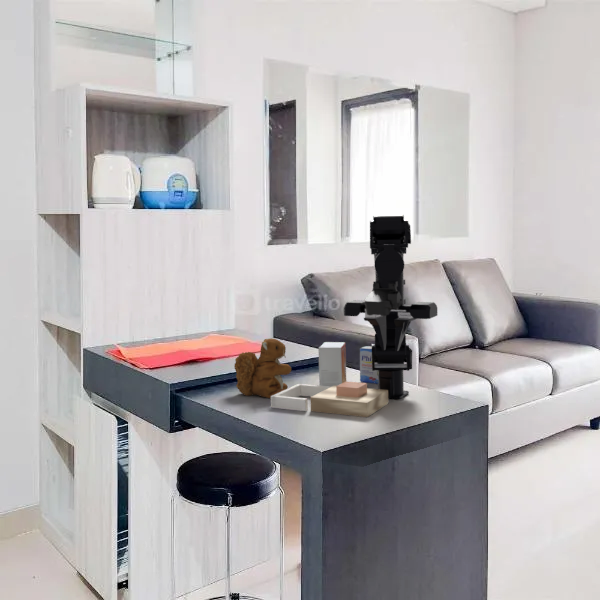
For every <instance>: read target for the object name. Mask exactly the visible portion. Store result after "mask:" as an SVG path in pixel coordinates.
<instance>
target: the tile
mask: <svg viewBox="0 0 600 600" xmlns="http://www.w3.org/2000/svg"><path fill="white" fill-rule="evenodd" d="M367 388H368V383H363V382H360V381H359V382H356V381H347V380H346V382H344V383H342V384H340V385H338V386H336V393H337V396H348V397H360V396H362V395H363V394H365V393H367Z"/></svg>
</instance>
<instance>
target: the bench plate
mask: <svg viewBox="0 0 600 600" xmlns="http://www.w3.org/2000/svg"><path fill="white" fill-rule="evenodd" d="M309 397H310V396H309ZM309 400H310V411H311V412H315V413H316V412H317V413H327V414H334V415H343V416H345V415H346V416H353V417H360V418H361V417H363V418H369V417H370V416H371V415H373V414H375V413H376V412H378V411H379V410H380V409H382V408H384V407H385V406H387V405H388V404H389V398H388V390H382V389H378V388H368V387H367V393H365V394H363V395H362V396H360V397H348V396H337V393H336V385H334V386H332V387H330V388H328V389H326V390H324V391H322V392H320V393H318V394H316V395H314V396H312V397H310V399H309Z"/></svg>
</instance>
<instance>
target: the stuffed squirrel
mask: <svg viewBox="0 0 600 600" xmlns="http://www.w3.org/2000/svg"><path fill="white" fill-rule="evenodd" d="M286 348H287V347H286V345H285V344H284V343H283V342H281V341H280V340H278V339H276V338H272V337H270V338H265V339H264V340H263V341H262V342H261V345H260V350H259V351H260V354H259V357H257V356H256V353H254V352H251V351H248V352H247V351H246V352H241V353H239V354H238V356H237V357H236V358H235V361H234V362H235V363H234V365H233V366H234V370H235V372H236V374H235V377H236V380H237V384H236V385H235V387H236V388H237V389H238V390H239V392H240V393H241V394H242V395H244V396H248V397H250V396H259V397H262V398H266V399H267V398H268V399H271V396H272V395H275V394H277V393H279V392H281V391H283V390H286V389H288V388H289V387H288V384H286V383H285V382H284V381H283V377H282V375H283V376H287V375H289V374H291V372H292V367H291V365H289V364H287V363H281V362H280V359H282V358H283V357H284V358H285V359H286V353H287V352H286Z"/></svg>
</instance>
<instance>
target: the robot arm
mask: <svg viewBox="0 0 600 600" xmlns="http://www.w3.org/2000/svg"><path fill="white" fill-rule="evenodd" d="M372 218H373V219H372V220H369V248H370V252H371V253H370V254H371V255H373V260H374V272H375V281H373V282H372V283H373V284H372V290H371V292H369V293H368V294H367V296H366V297H365V298H364V300H363V299H361V300H360V299H357V300H356V299H355V300H351V301H347V302H346V303H345V304H344V306H343V316H344V317H358V316H359V315H360V314H364V317H363V320H364V321H365V322H368V323H369V324H370V326H372V328H373V331H374V332H375V333H374V343H371V346H372V371H375V370H378V384H377V385H378V388H377V389H382V390H388V399H395V400H401V399H403V397H405V396H406V395H408V394H409V392H410V391H409V390H404V388H405V387H404V385H405V384H404V371H410V370H412V369H413V349H411V347H410V344H409V343H407V342H406V341H407V338H406V337H407V335H406V333H407V330H408V329H409V326H410V324H411V323H412V321H415V320H420V319H422V320H429V319H430V320H431V319H432V318H435V317H438V306H437V303H435V302H434V301H432V302H431V301H430V302H429V301H418V302H415V303H411V305H408V304H406V302H407V301H406V298H404V297H405V295H404V294H405V293H404V292H405V291H404V285H406V279H404V269H405V261H404V257H405V256H404V255H405V254H406V255H407V248H408V249H409V245H411V244H412V236H411V235H412V232H411V231H412V230H411V225H410V223H409V220H408V219H405V216H404V214H401V213H399V214H397V213H393V214H390V213H389V214H384V213H383V214H374V215H373V216H372ZM375 363H377V364H375Z"/></svg>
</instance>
